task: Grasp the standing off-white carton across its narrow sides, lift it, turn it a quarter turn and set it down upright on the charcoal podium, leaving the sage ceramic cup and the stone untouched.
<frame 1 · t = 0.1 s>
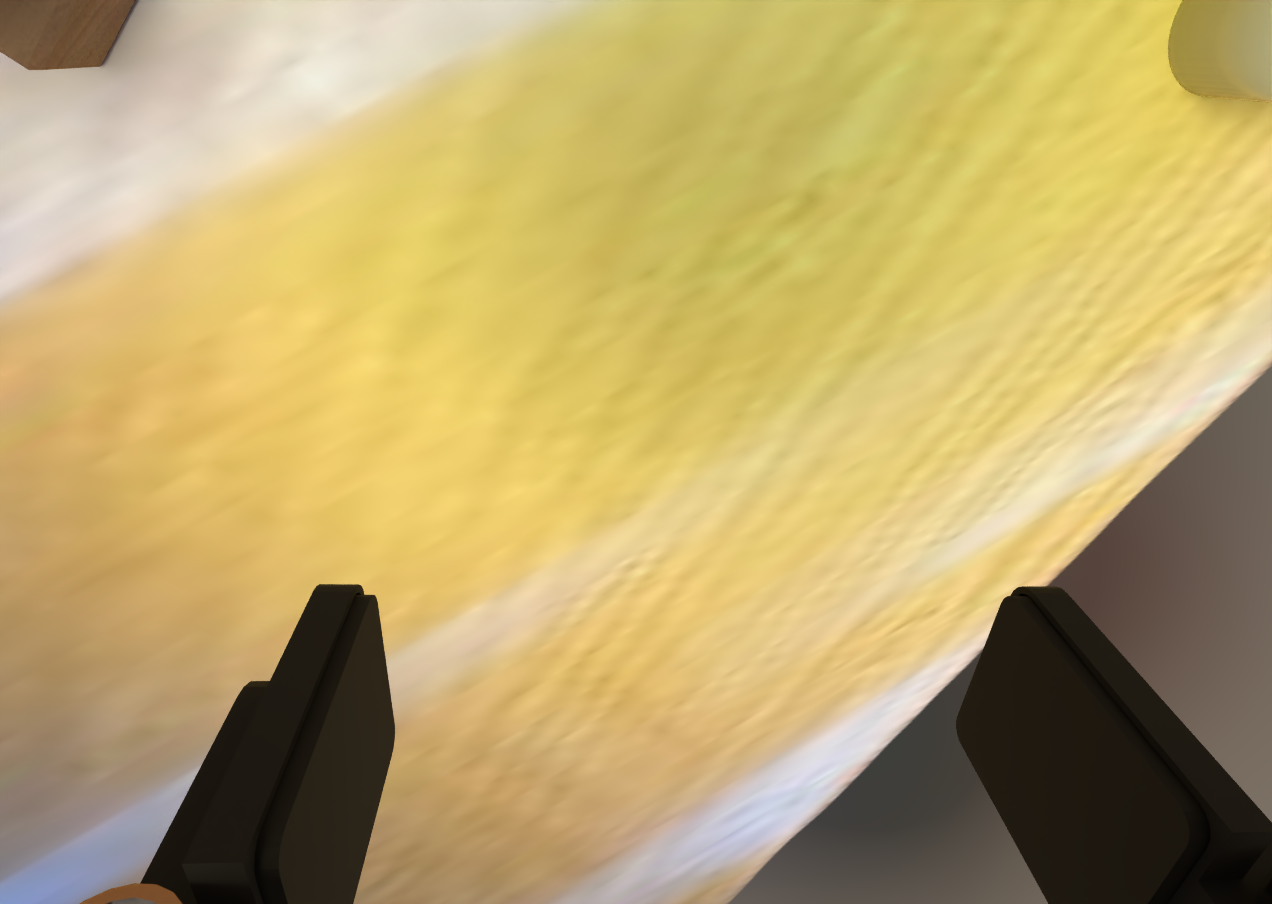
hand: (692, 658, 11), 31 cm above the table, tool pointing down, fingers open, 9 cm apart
sage cup: (1235, 23, 36), on the table
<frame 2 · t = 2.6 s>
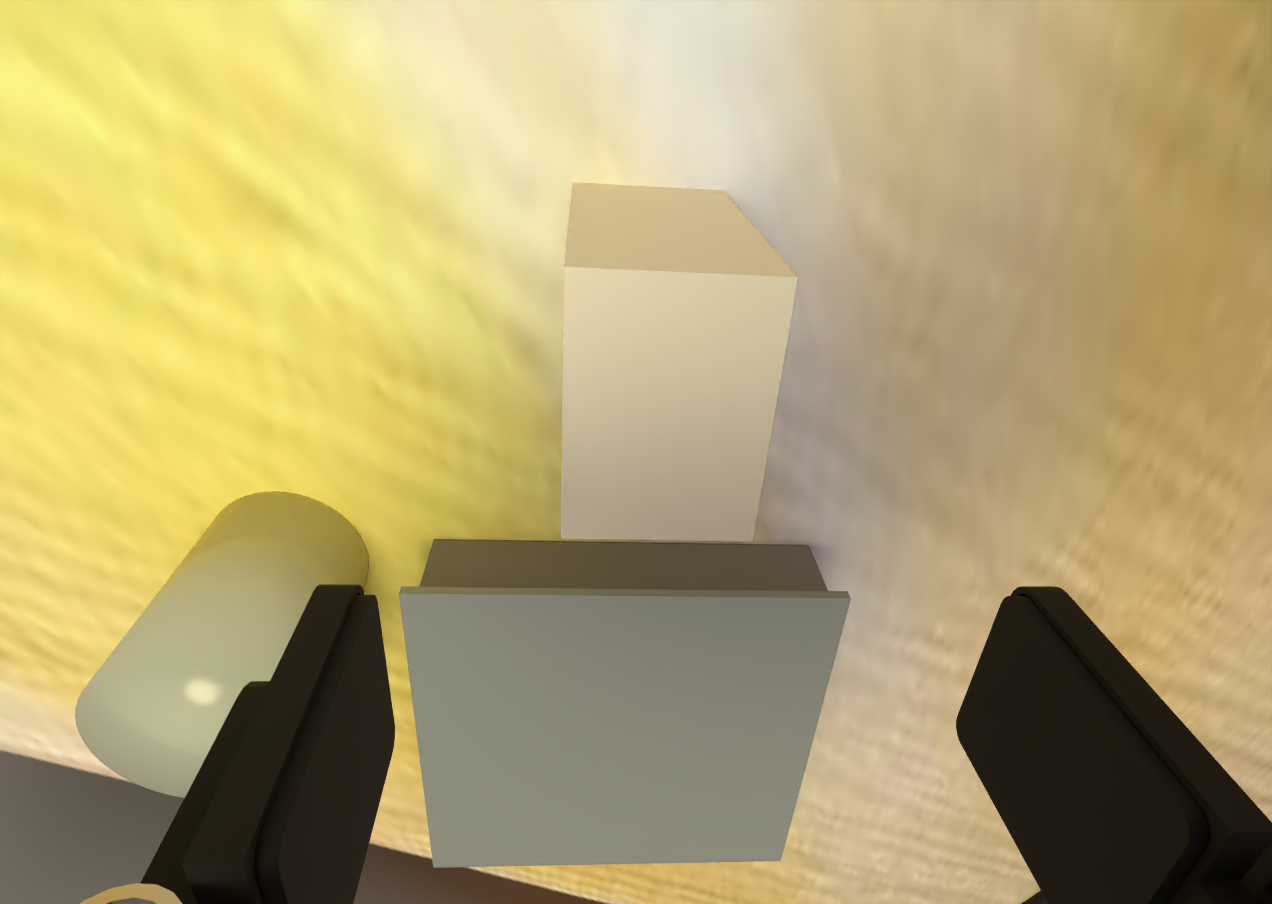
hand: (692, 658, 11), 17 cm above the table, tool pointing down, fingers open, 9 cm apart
podium: (616, 677, 35), on the table
sage cup: (289, 556, 31), on the table
carton: (641, 290, 26), on the table
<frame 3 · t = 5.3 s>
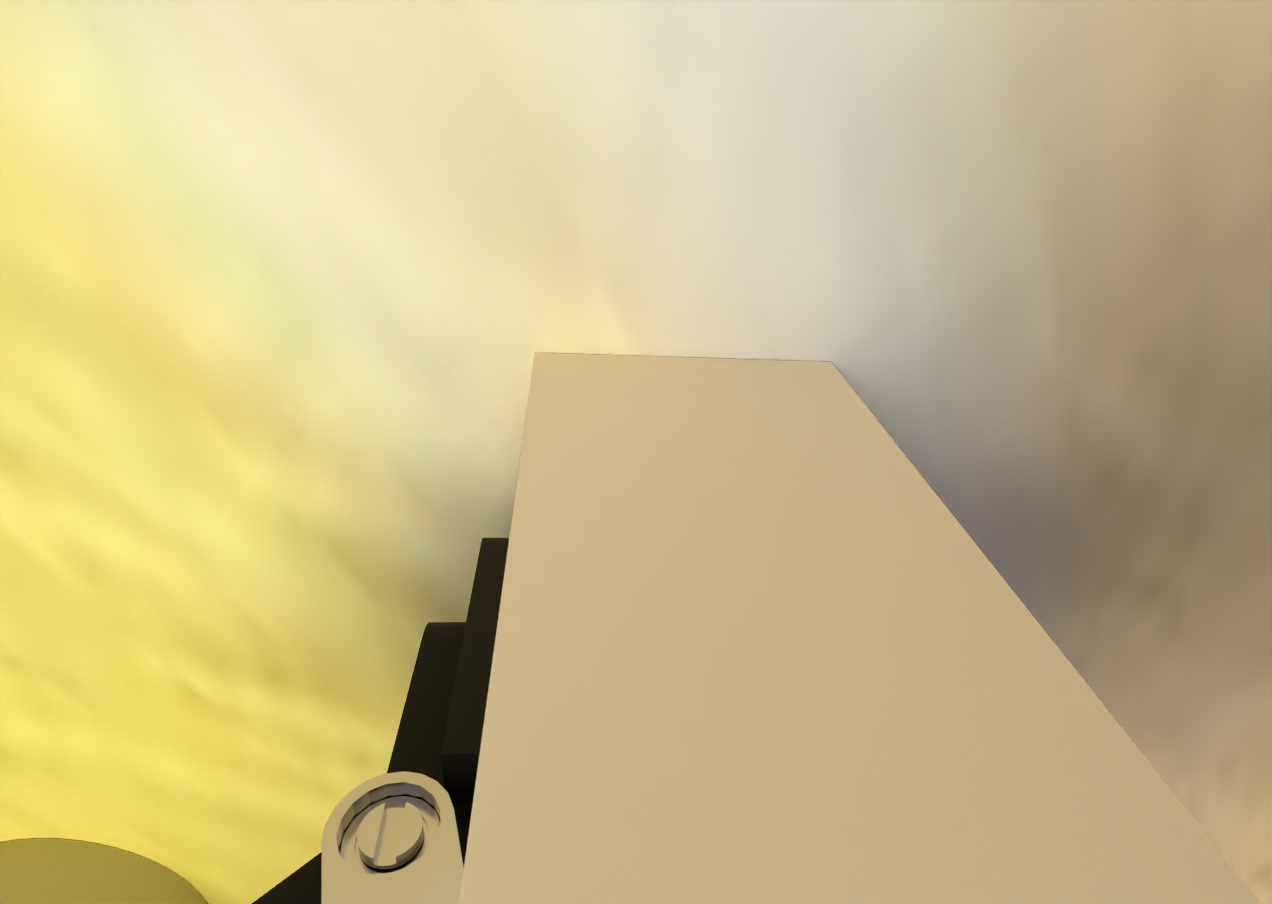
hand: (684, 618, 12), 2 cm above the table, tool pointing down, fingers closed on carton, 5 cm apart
carton: (668, 529, 14), on the table, touching gripper
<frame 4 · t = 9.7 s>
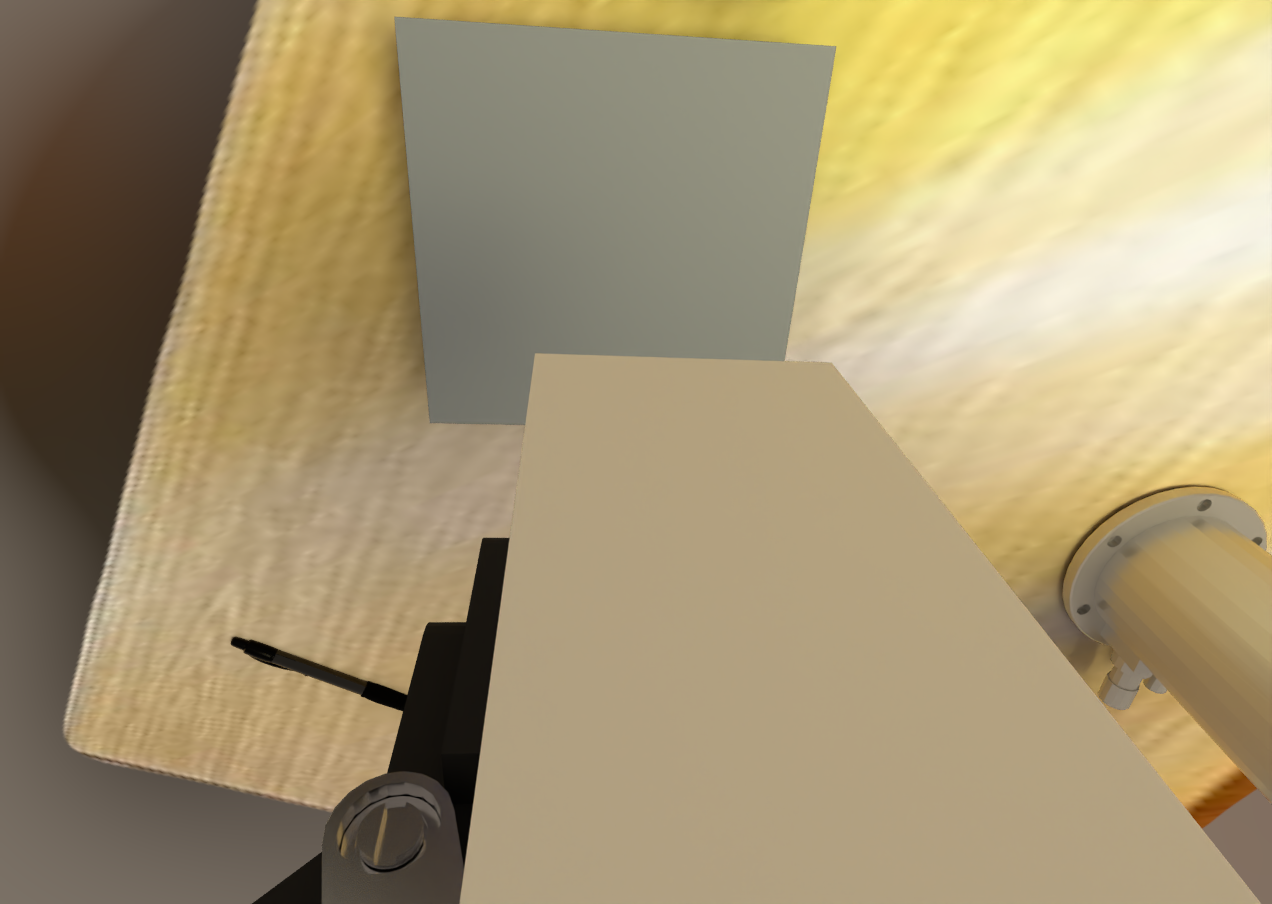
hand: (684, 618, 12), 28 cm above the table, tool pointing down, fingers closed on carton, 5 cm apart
podium: (608, 233, 36), on the table
carton: (668, 530, 14), point 25 cm above the table, touching gripper
pen: (341, 673, 49), on the table
when the fingers open (8 cm above the table, at t = 14.3 s): carton drops 1 cm, resting on podium.
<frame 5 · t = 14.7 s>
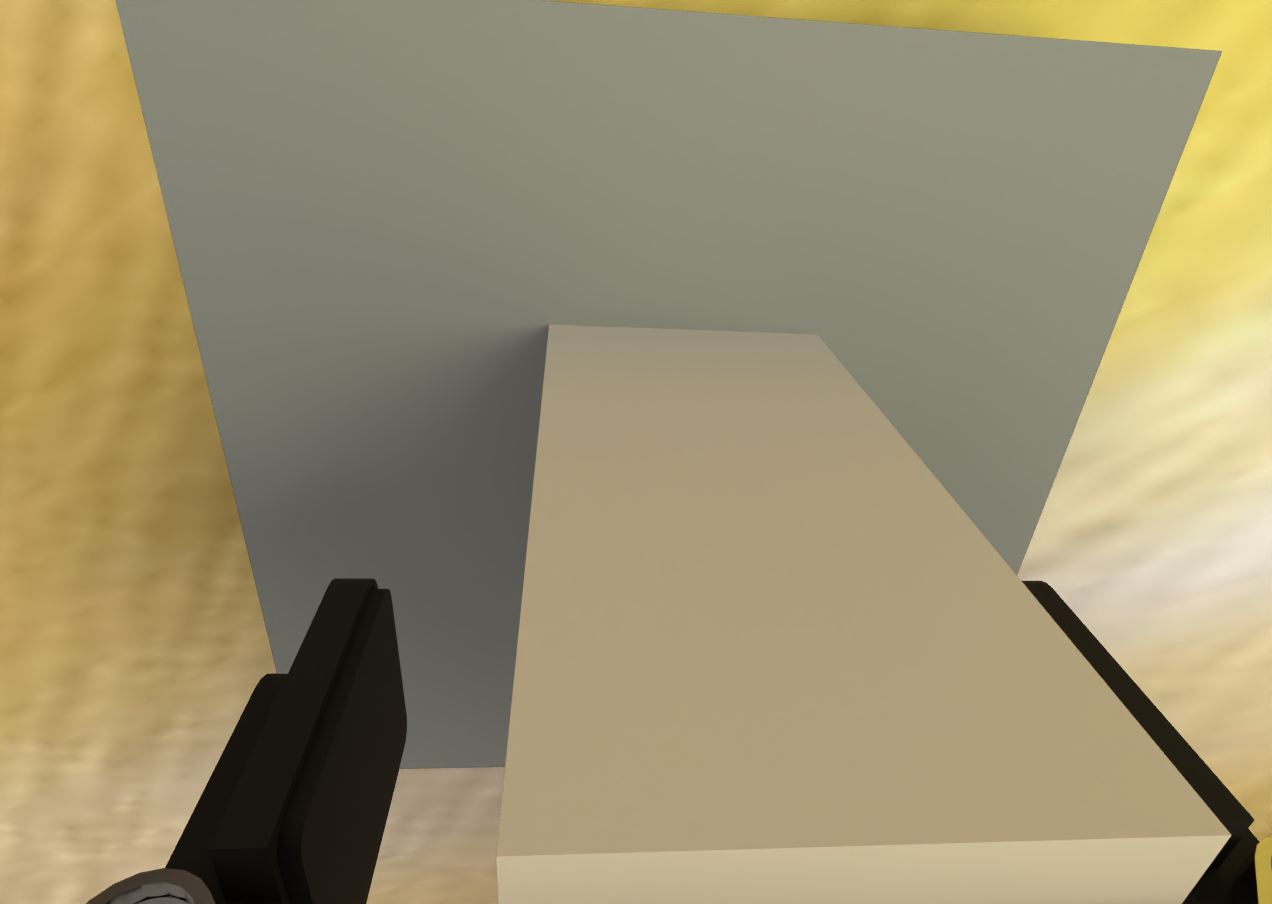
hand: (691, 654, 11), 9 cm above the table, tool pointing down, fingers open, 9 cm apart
podium: (644, 406, 19), on the table
carton: (669, 490, 15), point 4 cm above the table, touching podium
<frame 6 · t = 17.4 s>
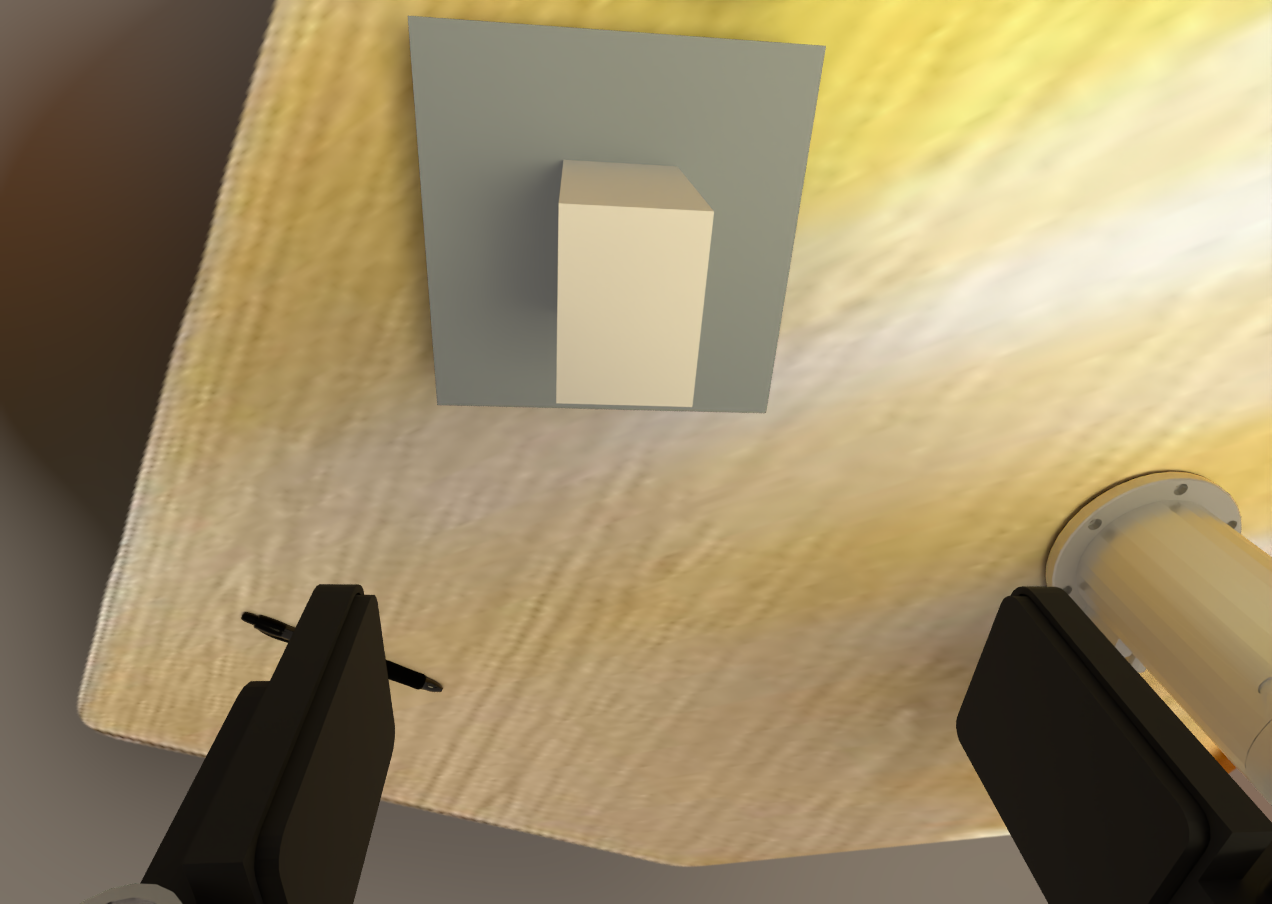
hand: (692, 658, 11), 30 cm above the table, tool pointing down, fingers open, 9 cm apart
podium: (609, 224, 37), on the table
carton: (616, 243, 34), point 4 cm above the table, touching podium
pen: (347, 648, 50), on the table
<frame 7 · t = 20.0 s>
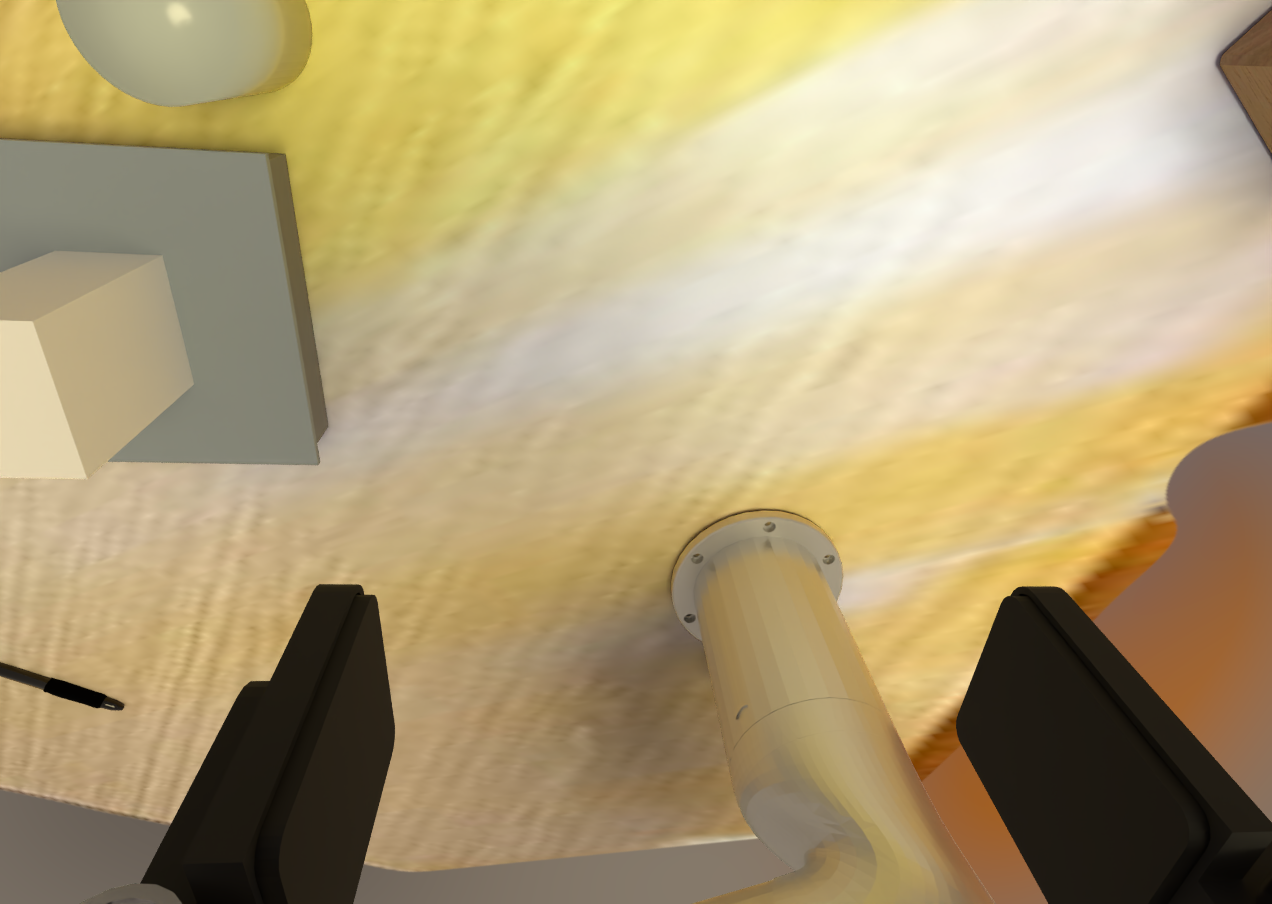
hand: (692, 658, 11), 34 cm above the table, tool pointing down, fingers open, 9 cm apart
podium: (162, 297, 42), on the table
sage cup: (243, 19, 35), on the table
carton: (128, 320, 38), point 4 cm above the table, touching podium
pen: (28, 670, 55), on the table
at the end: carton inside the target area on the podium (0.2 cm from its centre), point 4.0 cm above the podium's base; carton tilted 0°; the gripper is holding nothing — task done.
